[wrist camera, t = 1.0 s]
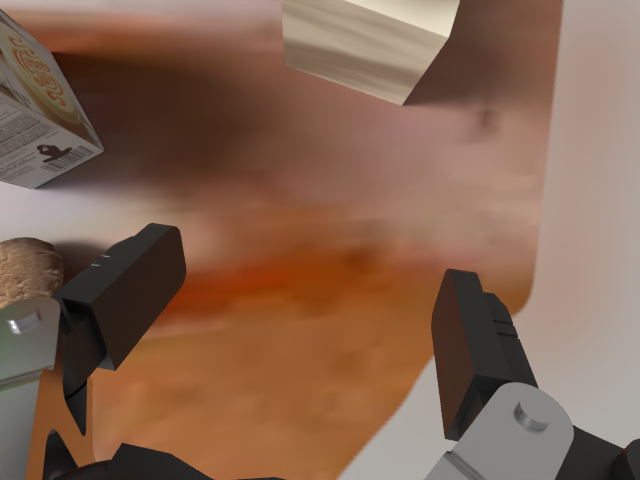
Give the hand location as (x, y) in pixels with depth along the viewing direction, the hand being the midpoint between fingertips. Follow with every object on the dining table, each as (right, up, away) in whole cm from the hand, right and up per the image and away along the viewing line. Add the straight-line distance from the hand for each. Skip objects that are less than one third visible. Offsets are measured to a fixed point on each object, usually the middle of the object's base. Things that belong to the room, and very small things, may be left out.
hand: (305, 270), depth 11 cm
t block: (+4, +19, +19) cm, 27 cm away
